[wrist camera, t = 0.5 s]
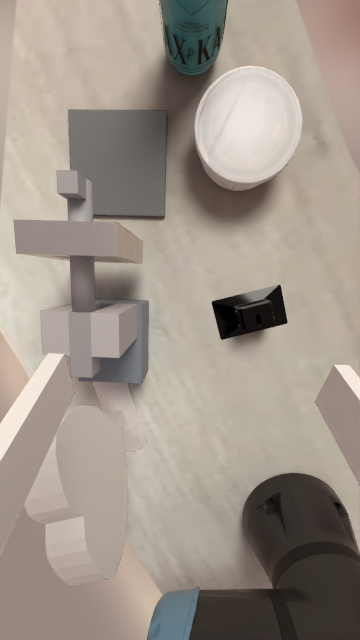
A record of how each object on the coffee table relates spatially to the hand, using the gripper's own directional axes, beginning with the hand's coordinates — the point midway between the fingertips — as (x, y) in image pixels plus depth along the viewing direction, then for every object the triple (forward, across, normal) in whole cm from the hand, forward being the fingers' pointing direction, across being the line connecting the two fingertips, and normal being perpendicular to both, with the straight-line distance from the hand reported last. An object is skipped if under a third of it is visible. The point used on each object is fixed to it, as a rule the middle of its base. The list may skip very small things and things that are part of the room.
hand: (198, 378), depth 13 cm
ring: (+20, +9, 0) cm, 22 cm away
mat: (+28, +9, -8) cm, 31 cm away
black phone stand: (+21, -9, +8) cm, 24 cm away
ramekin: (+29, -6, -10) cm, 31 cm away
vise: (+22, +9, +7) cm, 25 cm away
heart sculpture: (+15, +9, +23) cm, 29 cm away
